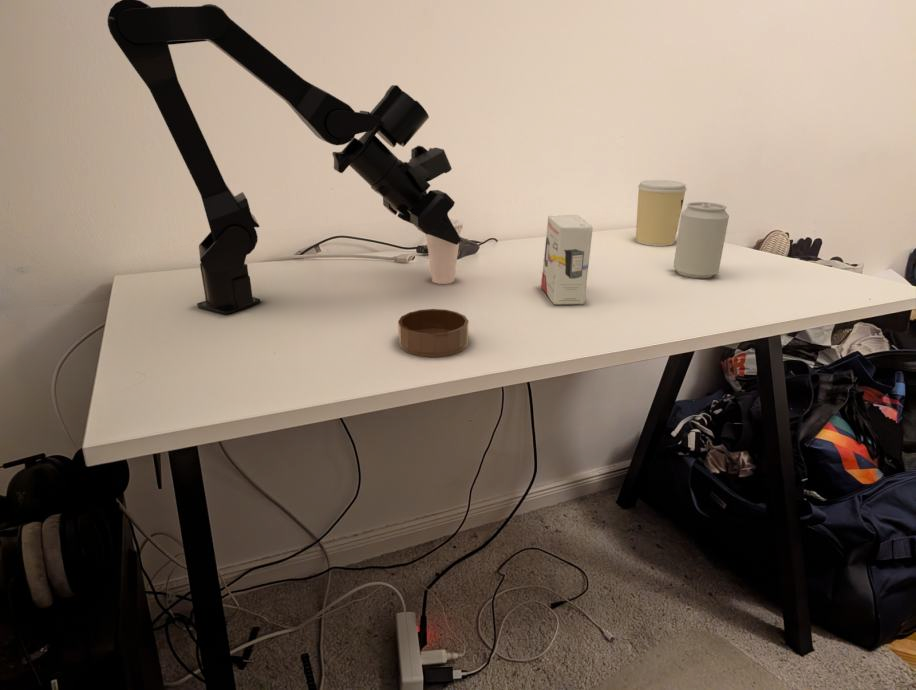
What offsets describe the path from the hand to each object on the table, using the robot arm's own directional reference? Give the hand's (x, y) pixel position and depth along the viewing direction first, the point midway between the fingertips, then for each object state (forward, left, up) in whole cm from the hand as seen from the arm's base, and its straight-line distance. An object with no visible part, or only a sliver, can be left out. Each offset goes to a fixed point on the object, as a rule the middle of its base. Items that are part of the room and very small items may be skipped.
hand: (451, 237), depth 98 cm
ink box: (+19, +2, -7) cm, 21 cm away
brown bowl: (+12, -24, -7) cm, 28 cm away
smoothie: (-1, -1, -7) cm, 7 cm away
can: (+34, +26, -7) cm, 43 cm away
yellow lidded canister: (+22, +46, -7) cm, 51 cm away
